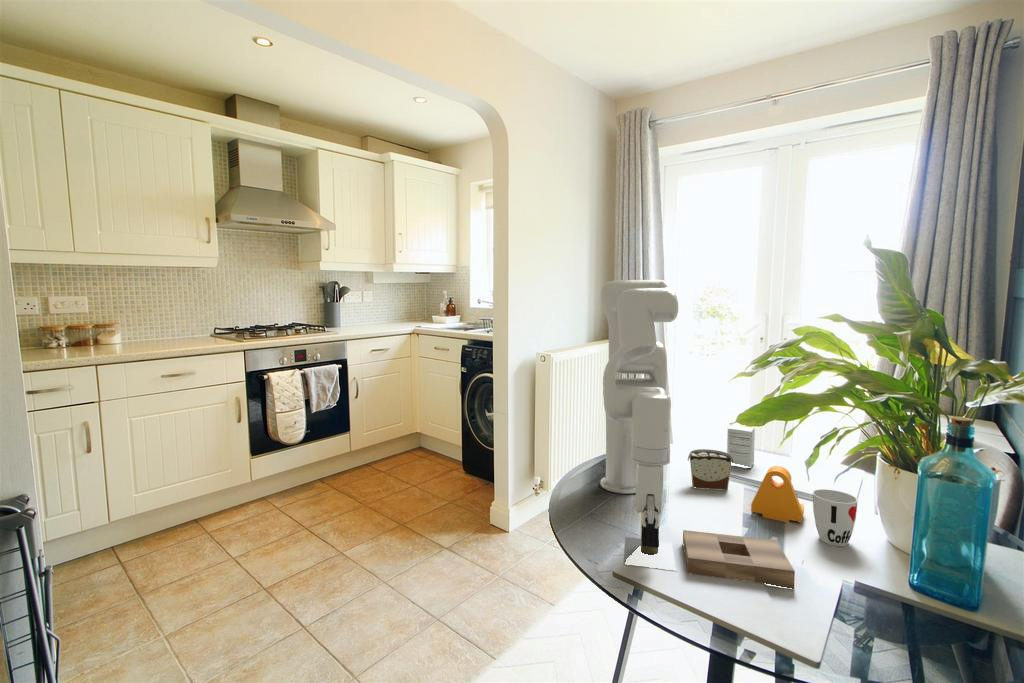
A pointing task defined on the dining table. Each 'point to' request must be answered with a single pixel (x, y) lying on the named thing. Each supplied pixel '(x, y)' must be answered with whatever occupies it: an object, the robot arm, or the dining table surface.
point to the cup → (834, 515)
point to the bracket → (777, 497)
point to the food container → (710, 468)
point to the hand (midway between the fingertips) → (649, 535)
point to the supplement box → (741, 445)
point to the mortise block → (737, 558)
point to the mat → (631, 546)
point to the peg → (643, 548)
